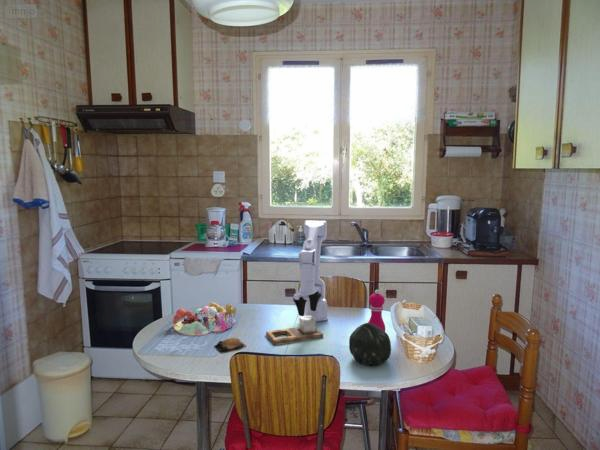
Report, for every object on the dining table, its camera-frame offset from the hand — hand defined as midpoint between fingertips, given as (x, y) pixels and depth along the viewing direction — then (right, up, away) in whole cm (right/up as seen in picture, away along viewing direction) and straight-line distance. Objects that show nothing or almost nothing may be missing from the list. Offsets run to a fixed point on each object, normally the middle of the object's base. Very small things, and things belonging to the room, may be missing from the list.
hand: (307, 313), depth 174 cm
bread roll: (-29, -11, -11) cm, 33 cm away
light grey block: (0, -9, +1) cm, 9 cm away
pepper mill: (+27, -10, -3) cm, 29 cm away
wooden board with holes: (-5, -9, -1) cm, 11 cm away
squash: (+22, -12, -22) cm, 33 cm away
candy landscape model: (-43, -8, +12) cm, 45 cm away
